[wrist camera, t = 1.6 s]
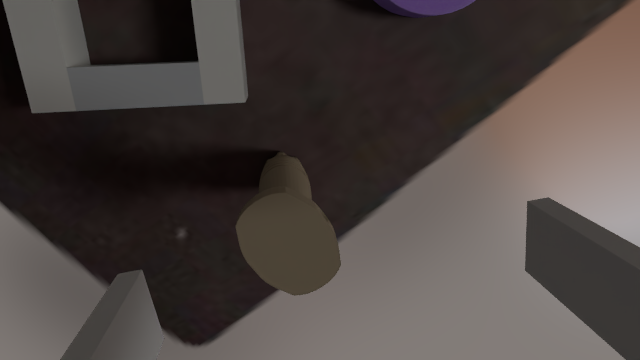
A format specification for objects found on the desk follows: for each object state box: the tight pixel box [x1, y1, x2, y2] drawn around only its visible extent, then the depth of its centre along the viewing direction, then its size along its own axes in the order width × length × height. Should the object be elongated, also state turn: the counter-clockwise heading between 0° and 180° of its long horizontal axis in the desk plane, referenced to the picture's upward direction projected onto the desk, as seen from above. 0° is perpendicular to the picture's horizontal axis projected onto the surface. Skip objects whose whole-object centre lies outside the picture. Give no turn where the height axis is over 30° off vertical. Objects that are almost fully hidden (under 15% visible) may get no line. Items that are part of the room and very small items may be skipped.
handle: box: [236, 152, 341, 295], centre depth 29 cm, size 5×6×15 cm
